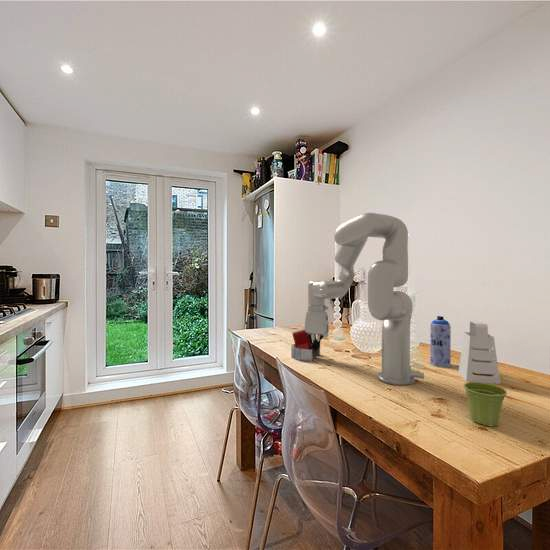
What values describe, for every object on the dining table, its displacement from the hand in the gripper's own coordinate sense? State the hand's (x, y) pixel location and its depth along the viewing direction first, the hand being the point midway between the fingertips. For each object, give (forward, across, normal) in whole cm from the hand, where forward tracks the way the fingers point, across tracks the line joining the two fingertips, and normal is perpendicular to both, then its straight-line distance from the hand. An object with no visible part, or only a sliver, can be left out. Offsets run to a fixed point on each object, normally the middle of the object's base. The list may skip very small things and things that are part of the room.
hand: (316, 349), depth 148 cm
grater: (+4, -62, +2) cm, 62 cm away
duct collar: (+4, +5, 0) cm, 6 cm away
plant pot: (+4, -59, +41) cm, 72 cm away
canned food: (+3, +5, 0) cm, 5 cm away
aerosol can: (+4, -50, -11) cm, 51 cm away
